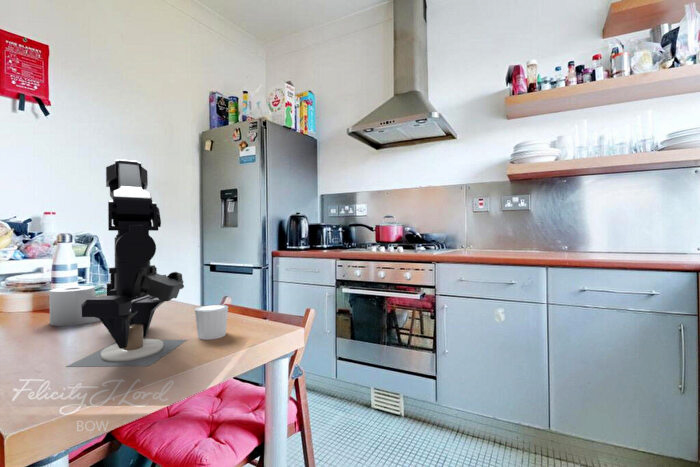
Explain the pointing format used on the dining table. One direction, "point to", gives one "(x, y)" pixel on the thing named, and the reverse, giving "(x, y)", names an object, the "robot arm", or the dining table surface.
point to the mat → (96, 361)
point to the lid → (133, 347)
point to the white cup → (211, 321)
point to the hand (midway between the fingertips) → (133, 343)
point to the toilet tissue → (70, 305)
